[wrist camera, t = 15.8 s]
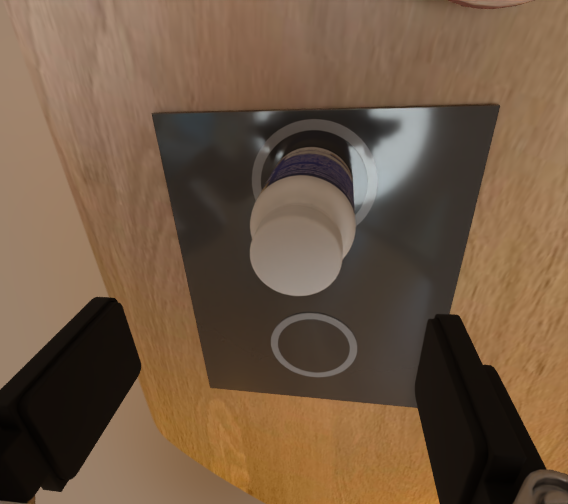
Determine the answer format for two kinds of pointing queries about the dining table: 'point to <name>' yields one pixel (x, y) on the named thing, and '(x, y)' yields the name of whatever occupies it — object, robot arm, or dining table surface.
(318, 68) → the dining table surface
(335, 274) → the pill bottle
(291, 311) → the hob
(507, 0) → the anatomical model
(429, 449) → the robot arm
